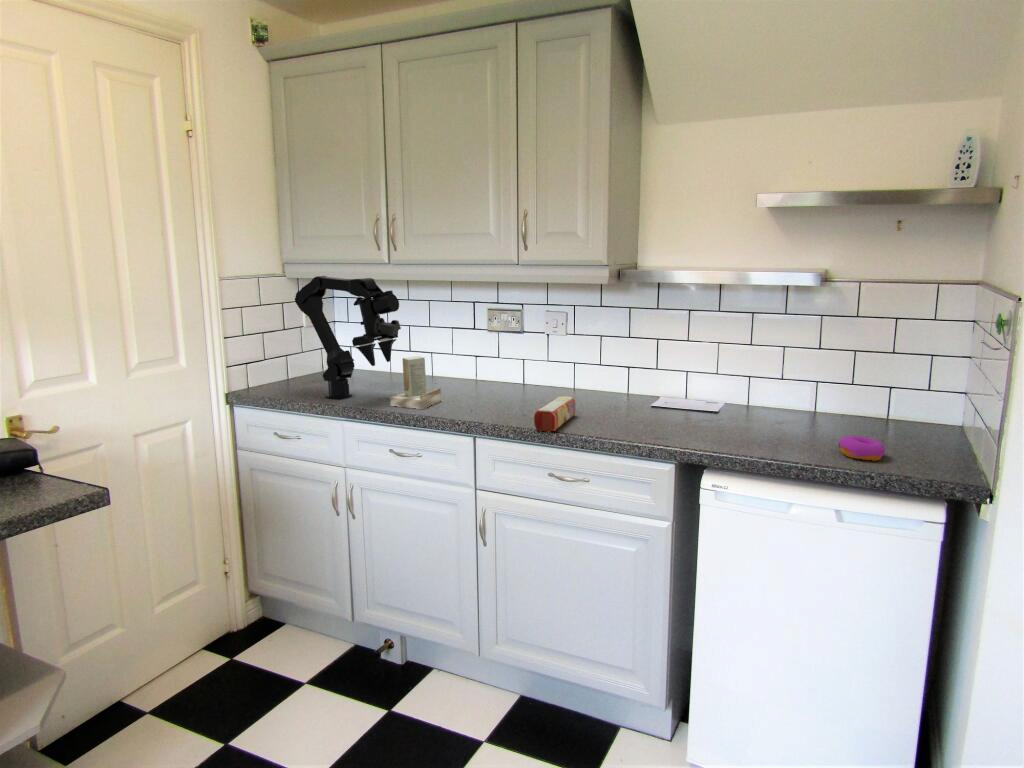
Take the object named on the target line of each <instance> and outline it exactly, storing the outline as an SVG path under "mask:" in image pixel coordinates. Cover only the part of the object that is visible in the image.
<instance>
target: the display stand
mask: <svg viewBox="0 0 1024 768" xmlns="http://www.w3.org/2000/svg"><path fill="white" fill-rule="evenodd" d="M441 389H442V388H441V387H437V388H435V389H432V390H430V391H427V390H426V392H427V393H425V394H422V395H416V396H408V395H405V394H404V391H403V392H401V393H398V394H395V395H393V396H390V397H389V399H390V400H389V401H390V407H391V406H397V407H396V408H401V407H406V408H405V409H412V408H416V409H415V410H425V408H426V409H427V407H428V408H430V407H432V406H434V405H437V404H438V402H439V403H440V401H441V402H442V395H441V394H442V390H441ZM436 403H437V404H436ZM431 405H432V406H431ZM429 406H430V407H429Z"/></svg>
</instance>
